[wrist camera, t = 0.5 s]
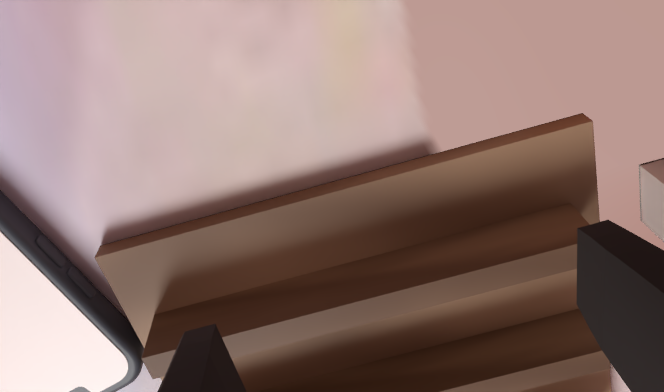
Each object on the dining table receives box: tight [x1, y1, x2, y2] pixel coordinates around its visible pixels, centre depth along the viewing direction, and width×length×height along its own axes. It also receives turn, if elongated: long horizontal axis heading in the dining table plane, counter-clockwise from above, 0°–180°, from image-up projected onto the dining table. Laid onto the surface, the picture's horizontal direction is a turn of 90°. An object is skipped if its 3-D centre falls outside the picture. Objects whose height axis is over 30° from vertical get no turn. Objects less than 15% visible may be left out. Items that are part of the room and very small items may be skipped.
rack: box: [95, 113, 611, 392], centre depth 24 cm, size 17×18×3 cm
